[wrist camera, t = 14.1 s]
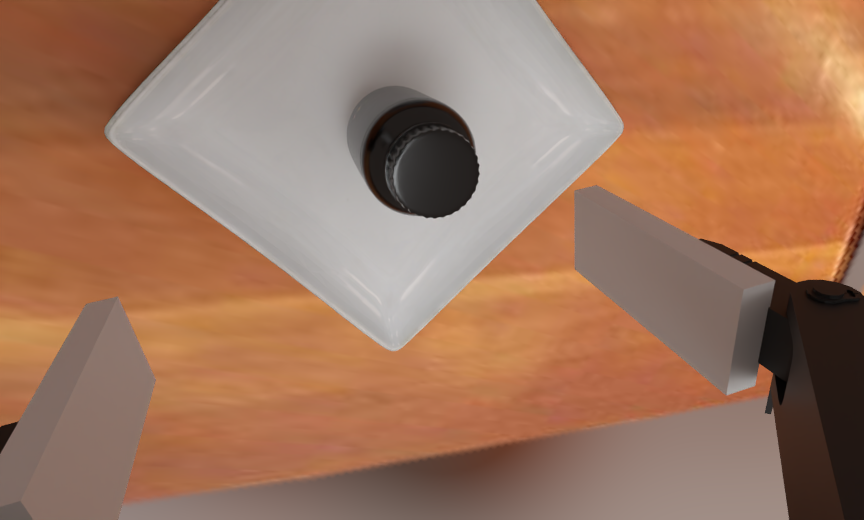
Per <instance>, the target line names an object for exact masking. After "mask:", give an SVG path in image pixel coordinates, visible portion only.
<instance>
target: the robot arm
mask: <svg viewBox="0 0 864 520" xmlns="http://www.w3.org/2000/svg"><path fill="white" fill-rule="evenodd" d="M575 270H576V271H578V272H579V273H580V274H581V275H582V276H584V277H585V278H586V279H587V280H588V281H590V282H591V283H592V284H593V285H594V286H596V287H597V288H598V289H599V290H600V291H602V292H603V293H604V294H605V295H606V296H608V297H609V298H610V299H611V300H612V301H614V302H615V303H616V304H617V305H618V306H620V307H621V308H622V309H623V310H624V311H626V312H627V313H628V314H629V315H630V316H632V317H633V318H634V319H635V320H636V321H638V322H639V323H640V324H641V325H642V326H644V327H645V328H646V329H647V330H648V331H650V332H651V333H652V334H653V335H654V336H656V337H657V338H658V339H659V340H660V341H662V342H663V343H664V344H665V345H666V346H668V347H669V348H670V349H671V350H672V351H674V352H675V353H676V354H677V355H678V356H680V357H681V358H682V359H683V360H684V361H686V362H687V363H688V364H689V365H690V366H692V367H693V368H694V369H695V370H696V371H698V372H699V373H700V374H701V375H702V376H704V377H705V378H706V379H707V380H708V381H710V382H711V383H712V384H713V385H714V386H716V387H717V388H718V389H719V390H720V391H722V392H723V393H724V394H725V395H729V394H732V393H735V392H738V391H741V390H744V389H747V388H750V387H753V386H755V383H756V377H757V372H758V367H759V363H760V364H761V365H763V366H764V367H765V368H767V369H768V370H769V371H771V372H772V373H773V377H772V382H771V387H770V391H769V396H768V401H767V406H766V410H765V413H767V414H771V411H772V408H773V409H774V416H775V423H776V430H777V437H778V444H779V451H780V458H781V465H782V472H783V479H784V486H785V493H786V500H787V506H788V514H789V520H864V296H863V295H862V294H861V292H859V291H857V290H855V289H853V288H852V287H849V286H847V285H843V284H840V283H837V282H832V281H826V280H806V281H801V282H798V283H796V282H794V281H792V280H790V279H788V278H786V277H784V276H782V275H780V274H778V273H776V272H774V271H773V270H771V269H769V268H767V267H765V266H763V265H761V264H759V263H757V262H752V260H751V259H749V258H747V257H745V256H743V255H739V253H738V252H736V251H734V250H732V249H730V248H728V247H726V246H724V245H722V244H719V243H715V242H711V241H708V240H704V239H697V238H695V237H693V236H691V235H689V234H687V233H685V232H684V231H682V230H680V229H678V228H676V227H674V226H672V225H670V224H669V223H667V222H665V221H663V220H661V219H659V218H657V217H655V216H654V215H652V214H650V213H648V212H646V211H644V210H642V209H640V208H639V207H637V206H635V205H633V204H631V203H629V202H627V201H625V200H624V199H622V198H620V197H618V196H616V195H614V194H612V193H610V192H608V191H607V190H605V189H603V188H601V187H599V186H597V185H596V186H592V187H587V188H583V189H579V190H575ZM155 381H156V379H155V377H154V375H153V373H152V370H151V368H150V366H149V364H148V362H147V359H146V357H145V355H144V353H143V351H142V348H141V346H140V344H139V342H138V340H137V337H136V335H135V333H134V331H133V329H132V326H131V324H130V322H129V320H128V318H127V315H126V313H125V311H124V309H123V307H122V304H121V302H120V300H119V298H118V297H114V298H110V299H105V300H101V301H97V302H92V303H88V304H86V305H85V307H84V308H83V310H82V312H81V314H80V315H79V317H78V319H77V321H76V322H75V324H74V326H73V328H72V329H71V331H70V333H69V335H68V336H67V338H66V340H65V342H64V343H63V345H62V347H61V349H60V350H59V352H58V354H57V356H56V357H55V359H54V361H53V363H52V364H51V366H50V368H49V370H48V371H47V373H46V375H45V377H44V378H43V380H42V382H41V384H40V385H39V387H38V389H37V391H36V392H35V394H34V396H33V398H32V399H31V401H30V403H29V405H28V406H27V408H26V410H25V412H24V413H23V415H22V417H21V419H20V420H19V422H15V423H11V424H8V425H4V426H1V427H0V520H118V518H119V514H120V510H121V507H122V503H123V499H124V496H125V492H126V488H127V484H128V481H129V477H130V473H131V470H132V466H133V462H134V459H135V455H136V451H137V447H138V444H139V440H140V436H141V433H142V429H143V425H144V422H145V418H146V414H147V410H148V407H149V403H150V399H151V396H152V392H153V388H154V385H155Z"/></svg>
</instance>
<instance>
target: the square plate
mask: <svg viewBox="0 0 864 520" xmlns="http://www.w3.org/2000/svg"><path fill="white" fill-rule="evenodd" d="M386 86H403V87H408V88H411V89H414V90H416V91H419V92H421V93H423V94H425V95H427V96H429V97H431V98H434V99H436V100H438V101H440V102H442V103H444V104H446V105H448V106H449V107H451V108H452V109H454V110H455V111H456V112H457V113H458V114H459V115H460V116H461V117H462V118H463V119H464V120H465V122H466V123H467V125H468V126H469V128H470V130H471V132H472V135H473V138H474V141H475V147H476V155H477V156H478V163H479V165H480V166H479V173H480V175H479V177H478V184H477V186H476V191H475V192H474V193H473V194H472V197H471V199H470V200H468V201H467V203H466V205H465V206H463V207H461V208H460V210H459V211H456V212H454V213H453V214H452V215H447V216H445V217H443V218H441V217H438V218H436V219H434V218H425V217H423V216H410V215H404V214H401V213H397V212H395V211H393V210H391V209H389V208H387V207H386V206H384V205H383V204H382V203H381V202H379V201H378V200H377V198H376V197H375V196H374V195H373V194H372V193H371V191H370V190H369V188H368V186H367V185H366V183H365V181H364V179H363V177H362V176H361V174H360V172H359V170H358V168H357V167H356V165H355V163H354V161H353V159H352V157H351V154H350V152H349V148H348V144H347V126H348V122H349V119H350V116H351V114H352V112H353V110H354V108H355V107H356V105H357V104H358V103H359V102H360V101H361V100H362V99H363V98H364V97H365V96H366V95H368V94H369V93H371V92H372V91H374V90H376V89H379V88H382V87H386ZM623 129H624V125H623V122H622V119H621V118H620V116H619V115H618V113H617V112H616V110H615V109H614V107H613V106H612V104H611V103H610V101H609V100H608V99H607V97H606V96H605V94H604V93H603V92H602V90H601V89H600V87H599V86H598V85H597V83H596V82H595V81H594V79H593V78H592V77H591V75H590V74H589V72H588V71H587V70H586V68H585V67H584V66H583V64H582V63H581V62H580V60H579V59H578V58H577V56H576V55H575V54H574V52H573V51H572V50H571V48H570V47H569V46H568V44H567V43H566V41H565V40H564V39H563V37H562V36H561V34H560V33H559V31H558V30H557V29H556V27H555V26H554V25H553V23H552V22H551V21H550V19H549V18H548V17H547V15H546V14H545V12H544V11H543V9H542V8H541V7H540V5H539V4H538V2H537V1H536V0H219V1H218V2H217V4H216V5H215V6H214V7H213V8H212V9H211V10H210V11H209V12H208V13H207V15H206V16H205V17H204V18H203V19H202V20H201V21H200V22H199V23H198V24H197V25H196V26H195V27H194V28H193V29H192V31H191V32H190V33H189V34H188V35H187V36H186V37H185V38H184V39H183V40H182V41H181V42H180V43H179V44H178V45H177V46H176V47H175V48H174V50H173V51H172V52H171V53H170V54H169V55H168V56H167V57H166V58H165V59H164V60H163V61H162V62H161V63H160V64H159V65H158V66H157V67H156V68H155V70H154V71H153V72H152V73H151V74H150V75H149V76H148V77H147V78H146V79H145V80H144V81H143V82H142V83H141V85H140V86H139V87H138V88H137V89H136V90H135V91H134V92H133V93H132V94H131V95H130V96H129V98H128V99H127V100H126V101H125V102H124V103H123V104H122V106H121V107H120V108H119V109H118V110H117V111H116V113H115V114H114V115H113V116H112V118H111V119H110V120H109V122H108V123H107V125H106V126H105V132H104V133H105V136H106V138H107V139H108V140H109V141H110V142H111V143H112V144H113V145H114V146H115V147H117V148H118V149H119V150H120V151H122V152H123V153H124V154H125V155H127V156H128V157H129V158H130V159H132V160H133V161H134V162H136V163H137V164H138V165H140V166H141V167H142V168H144V169H145V170H147V171H148V172H149V173H151V174H152V175H154V176H155V177H156V178H158V179H159V180H160V181H161V182H163V183H164V184H166V185H168V186H169V187H170V188H171V189H173V190H174V191H175V192H177V193H178V194H180V195H181V196H183V197H184V198H185V199H187V200H188V201H190V202H191V203H192V204H194V205H195V206H197V207H198V208H199V209H201V210H202V211H204V212H205V213H206V214H208V215H209V216H211V217H212V218H213V219H215V220H216V221H218V222H219V223H220V224H222V225H223V226H224V227H226V228H227V229H229V230H230V231H231V232H233V233H234V234H236V235H237V236H238V237H239V238H241V239H242V240H243V241H245V242H246V243H247V244H249V245H250V246H252V247H253V248H254V249H256V250H257V251H258V252H260V253H261V254H262V255H264V256H265V257H266V258H268V259H269V260H270V261H272V262H273V263H274V264H276V265H277V266H278V267H280V268H281V269H282V270H284V271H285V272H286V273H287V274H289V275H290V276H291V277H293V278H294V279H295V280H297V281H298V282H299V283H300V284H302V285H303V286H304V287H306V288H307V289H308V290H309V291H311V292H312V293H313V294H315V295H316V296H317V297H318V298H320V299H321V300H322V301H324V302H325V303H326V304H327V305H329V306H330V307H331V308H333V309H334V310H335V311H336V312H337V313H339V314H340V315H341V316H342V317H344V318H345V319H346V320H348V321H349V322H350V323H352V324H353V325H354V326H355V327H357V328H358V329H359V330H361V331H362V332H363V333H365V334H366V335H367V336H369V337H370V338H371V339H373V340H374V341H375V342H377V343H378V344H379V345H381V346H382V347H384V348H386V349H388V350H390V351H397V350H399V349H401V348H402V347H403V346H404V345H406V344H407V343H408V342H409V341H410V340H411V339H412V338H413V337H414V336H415V335H416V334H417V333H418V332H419V331H420V330H421V329H422V328H424V327H425V326H426V325H427V324H428V323H429V322H430V321H431V320H432V319H433V318H434V317H435V316H436V315H437V314H438V313H439V312H440V311H441V310H442V309H443V308H444V307H445V306H446V305H447V304H448V303H449V302H450V301H451V300H452V299H453V298H454V297H455V296H456V295H457V294H458V293H459V292H460V291H461V290H462V289H463V288H464V287H465V286H466V285H467V284H468V283H469V282H470V281H471V280H472V279H473V278H474V277H475V276H476V275H477V274H478V273H479V272H480V271H481V270H482V269H483V268H485V267H486V266H487V265H488V264H489V263H490V262H491V261H492V260H493V259H494V258H495V257H496V256H497V255H498V254H499V253H500V252H501V251H502V250H503V249H504V248H505V247H506V246H507V245H508V244H509V243H510V242H511V241H512V240H513V239H514V238H515V237H517V236H518V235H519V234H520V233H521V232H522V231H523V230H524V229H525V228H526V227H527V226H528V225H529V224H530V223H531V222H532V221H533V220H534V219H535V218H536V217H537V216H539V215H540V214H541V213H542V212H543V211H544V210H545V209H546V208H547V207H548V206H549V205H550V204H551V203H552V202H553V201H554V200H555V199H556V198H557V197H558V196H559V195H560V194H562V193H563V192H564V191H565V190H566V189H567V188H568V187H569V186H570V185H571V184H572V183H573V182H574V181H575V180H576V179H577V178H578V177H579V176H580V175H581V174H582V173H583V172H585V171H586V170H587V169H588V168H589V167H590V166H591V165H592V164H593V163H594V162H595V161H596V160H597V159H598V158H599V157H600V156H601V155H602V154H603V153H604V152H605V151H606V150H607V149H608V148H609V147H610V146H611V145H612V144H613V143H614V142H615V141H616V140H617V138H618V137H619V136H620V135H621V134H622V132H623Z"/></svg>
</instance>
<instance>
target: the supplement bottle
mask: <svg viewBox="0 0 864 520" xmlns="http://www.w3.org/2000/svg"><path fill="white" fill-rule="evenodd" d="M347 144H348V148H349V152H350V154H351V157H352V159H353V161H354V163H355V165H356V167H357V168H358V170H359V172H360V174H361V176H362V177H363V179H364V181H365V183H366V185H367V186H368V188H369V190H370V191H371V193H372V194H373V195H374V196H375V197H376V198H377V200H378V201H379V202H381V203H382V204H383V205H384V206H386V207H387V208H389V209H391V210H393V211H395V212H397V213H401V214H404V215H410V216H423V217H425V218H434V219H436V218H438V217H441V218H443V217H445V216H447V215H452V214H453V213H454V212H456V211H459V210H460V208H461V207H463V206H465V205H466V203H467V201H468V200H470V199H471V197H472V194H473V193H474V192H475V191H476V186H477V184H478V177H479V175H480V173H479V166H480V165H479V163H478V156H477V155H476V147H475V141H474V138H473V135H472V132H471V130H470V128H469V126H468V125H467V123H466V122H465V120H464V119H463V118H462V117H461V116H460V115H459V114H458V113H457V112H456V111H455V110H454V109H452V108H451V107H449V106H448V105H446V104H444V103H442V102H440V101H438V100H436V99H434V98H431V97H429V96H427V95H425V94H423V93H421V92H419V91H416V90H414V89H411V88H408V87H403V86H386V87H382V88H379V89H376V90H374V91H372V92H371V93H369V94H368V95H366V96H365V97H364V98H363V99H362V100H361V101H360V102H359V103H358V104H357V105H356V107H355V108H354V110H353V112H352V114H351V116H350V119H349V122H348V126H347Z"/></svg>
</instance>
